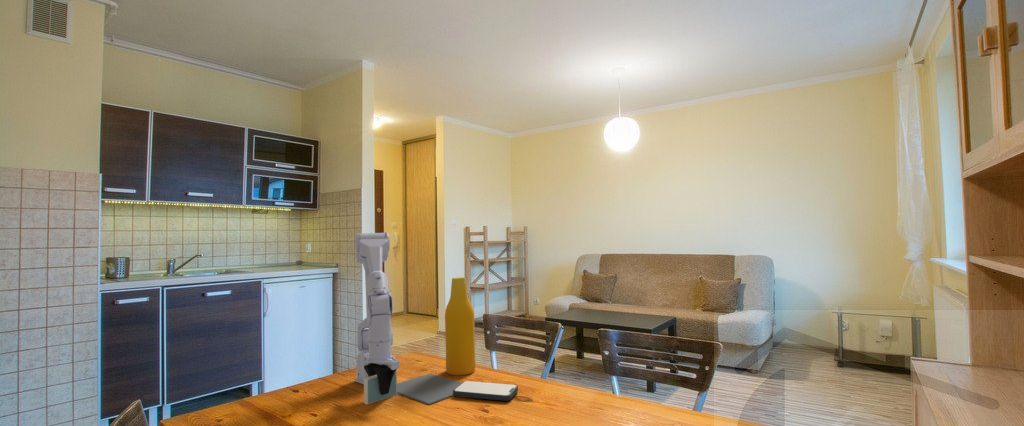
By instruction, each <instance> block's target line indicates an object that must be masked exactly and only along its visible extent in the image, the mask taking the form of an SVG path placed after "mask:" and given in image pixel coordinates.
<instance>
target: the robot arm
mask: <svg viewBox="0 0 1024 426" xmlns="http://www.w3.org/2000/svg"><path fill="white" fill-rule="evenodd" d="M390 241H391V240H390V234H389V233H388V232H387V231H386V232H385V231H384V232H369V233H368V232H365V233H364V232H363V233H360V232H357V233H356V234H355V239H354V243H355V244H354V246H355V258H356V262H358V263H360V264H362V267H363V269H364V275H365V276H364V277H365V278H364V279H365V284H364V286H365V304H366V305H365V306H366V307H365V308H366V311H365V313H366V317H365V318H364V319H363V320H362V321H360V322H359V323H358V326H357V327H356V328H357V332H356V343H357V345H356V346H357V347H356V348H357V350H358V351H359V353H357V356H356V378H355V379H353V381H354V382H356V383H357V384H358V383H359V384H362V385H364V378H366V377H370V376H373V375H377V377H378V381H379V390H380V394H381V395H384V394H388V393H389V389H390V385H391V381H392V378H393V375H394V373H395V371H397V370H398V369H400V360H398V359H396V358H395V357H394V356H393V355H392V346H393V343H394V337H393V335H394V334H393V328H392V317H391V316H393V310H394V301H393V296H392V293H391V290H390V288H389V281H388V280H389V279H388V275H387V274H386V273H385V272H384V271H383V263H384V262H385V261H387V260H388V258H389V254H390V253H389V252H390V247H391V246H390V244H391V242H390Z"/></svg>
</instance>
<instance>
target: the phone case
mask: <svg viewBox="0 0 1024 426" xmlns="http://www.w3.org/2000/svg"><path fill="white" fill-rule="evenodd" d="M517 392H519V386H518V385H517V384H509V383H508V384H506V383H497V382H483V381H471V380H465V381H462V383H461V384H460V385H459V386H458V387H456V388H455V389H454V390H453V395H454V396H453V397H462V398H470V399H482V400H492V401H505V402H508V401H511V400H512V398H513V397H514V396H515V395H516V394H517Z"/></svg>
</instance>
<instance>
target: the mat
mask: <svg viewBox="0 0 1024 426" xmlns="http://www.w3.org/2000/svg"><path fill="white" fill-rule="evenodd" d="M461 383H463V381H458V380H454V379H453V378H452V379H451V378H447V377H444V376H441V375H437V374H435V373H431V372H430V373H427V374H424V375H420V376H418V377H413V378H412V379H411V378H410V379H408V380H405V381H401V382H397V395H401V396H403V397H405V398H408V399H412V400H414V401H417V402H420V403H423V404H426V405H428V406H430V405H433V404H436V403H438V402H441V401H444V400H447V399H450V398H452V397H455V396H454V395H453V390H454V389H455V388H456V387H458V386H459V385H460V384H461Z"/></svg>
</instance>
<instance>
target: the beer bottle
mask: <svg viewBox="0 0 1024 426" xmlns="http://www.w3.org/2000/svg"><path fill="white" fill-rule="evenodd" d="M444 331H445V335H444V336H445V338H444V339H445V370H446V373H447V374H448V375H451V376H466V375H470V374H472V373H474V372H475V371H476V368H477V367H476V365H477V364H476V363H477V362H476V344H475V343H476V338H475V336H476V335H475V334H476V333H475V332H476V331H475V311H474V307H473V305H472V303H471V300H470V299H469V295H468V287H467V279H466V277H462V276H461V277H458V276H457V277H452V278H451V287H450V298H449V301H448V303H447V305H446V308H445V313H444Z"/></svg>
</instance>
